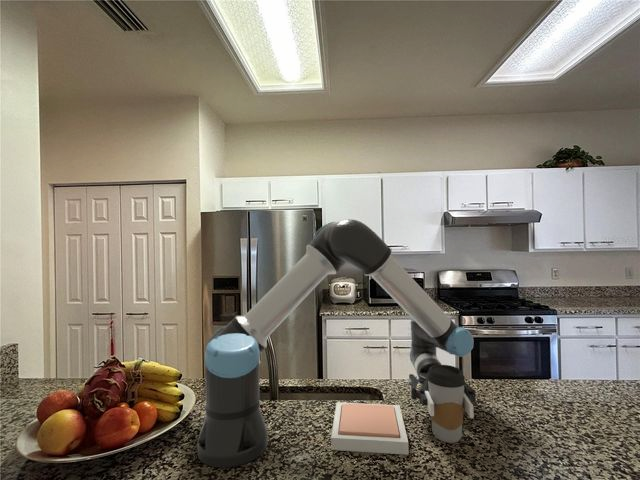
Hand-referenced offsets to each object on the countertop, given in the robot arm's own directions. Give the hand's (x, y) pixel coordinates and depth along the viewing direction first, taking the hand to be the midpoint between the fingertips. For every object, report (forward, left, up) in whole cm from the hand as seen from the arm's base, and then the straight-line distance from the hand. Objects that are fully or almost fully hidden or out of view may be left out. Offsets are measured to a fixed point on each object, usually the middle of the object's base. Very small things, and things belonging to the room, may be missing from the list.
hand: (451, 410), depth 72 cm
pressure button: (-18, +5, -6) cm, 20 cm away
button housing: (-18, +5, -8) cm, 20 cm away
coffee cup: (0, +5, -8) cm, 10 cm away
